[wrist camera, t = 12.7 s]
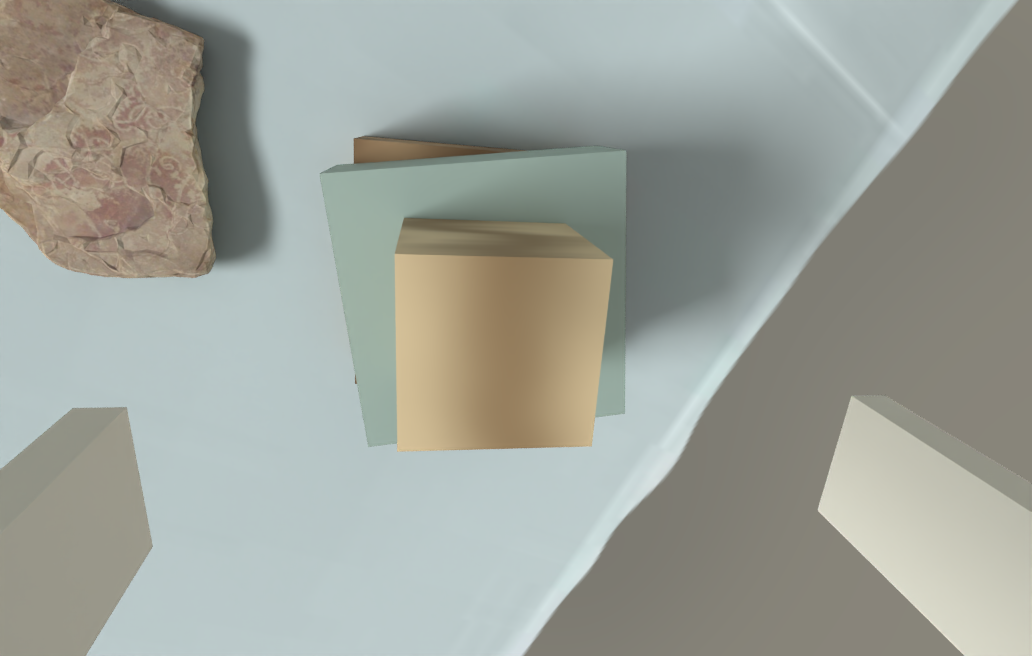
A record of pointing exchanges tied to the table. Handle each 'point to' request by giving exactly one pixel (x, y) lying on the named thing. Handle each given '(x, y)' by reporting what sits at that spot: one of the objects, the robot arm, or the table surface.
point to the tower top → (466, 196)
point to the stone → (103, 138)
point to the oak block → (497, 334)
